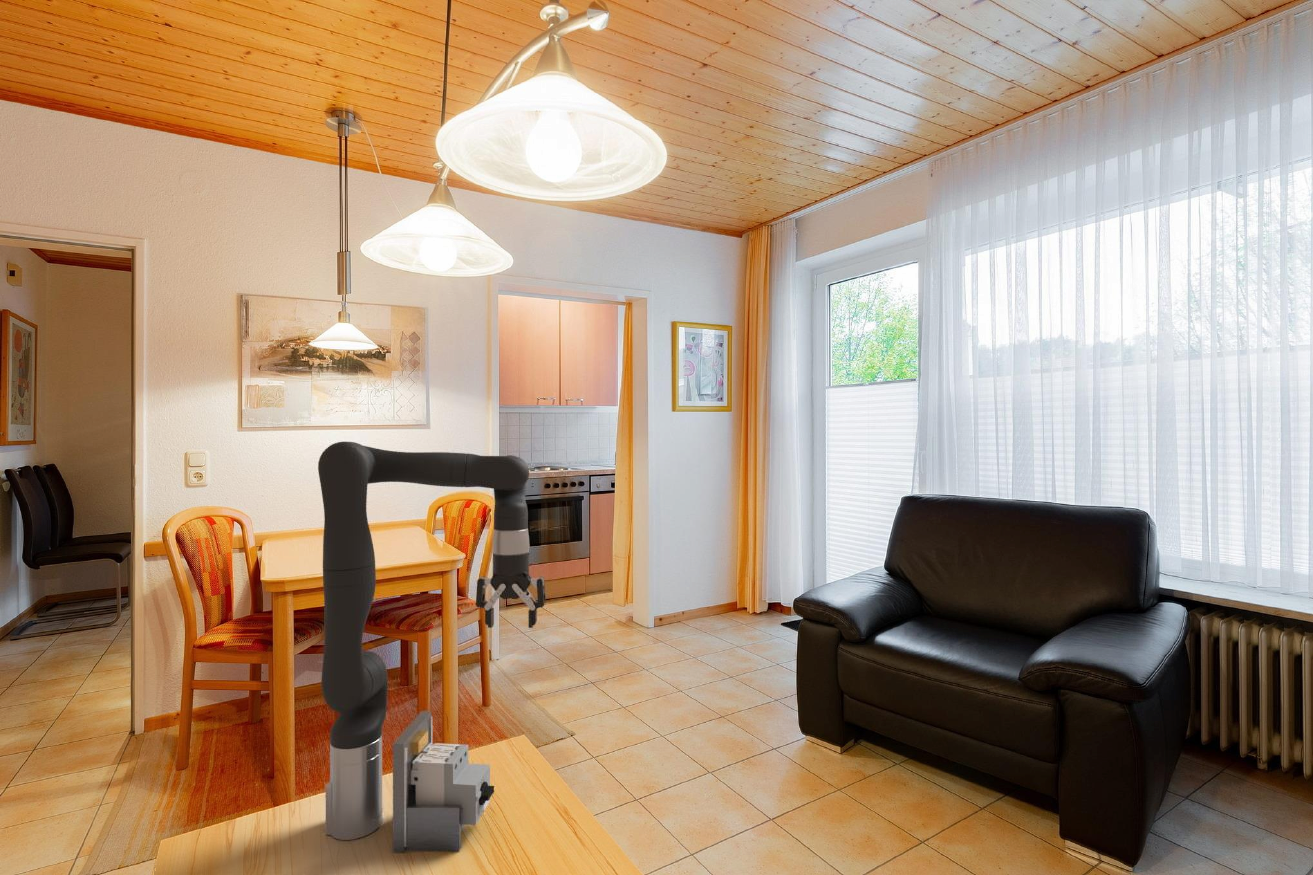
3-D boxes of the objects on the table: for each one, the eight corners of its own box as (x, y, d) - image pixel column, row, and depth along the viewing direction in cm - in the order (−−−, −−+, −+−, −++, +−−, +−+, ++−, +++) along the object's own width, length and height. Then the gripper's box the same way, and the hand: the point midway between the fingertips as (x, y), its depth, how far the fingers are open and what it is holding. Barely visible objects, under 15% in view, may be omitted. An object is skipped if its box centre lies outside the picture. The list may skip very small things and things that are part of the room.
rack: (393, 852, 117) (392, 743, 117) (421, 808, 131) (421, 710, 131) (458, 853, 117) (458, 743, 117) (480, 808, 131) (479, 711, 131)
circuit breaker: (484, 845, 119) (484, 765, 119) (411, 841, 121) (411, 761, 121) (498, 821, 127) (498, 745, 127) (428, 817, 128) (428, 742, 128)
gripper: (472, 553, 131) (472, 632, 131) (541, 553, 131) (541, 632, 131) (482, 547, 139) (482, 621, 139) (547, 547, 139) (548, 621, 139)
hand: (511, 626), depth 135 cm, fingers open, 8 cm apart
